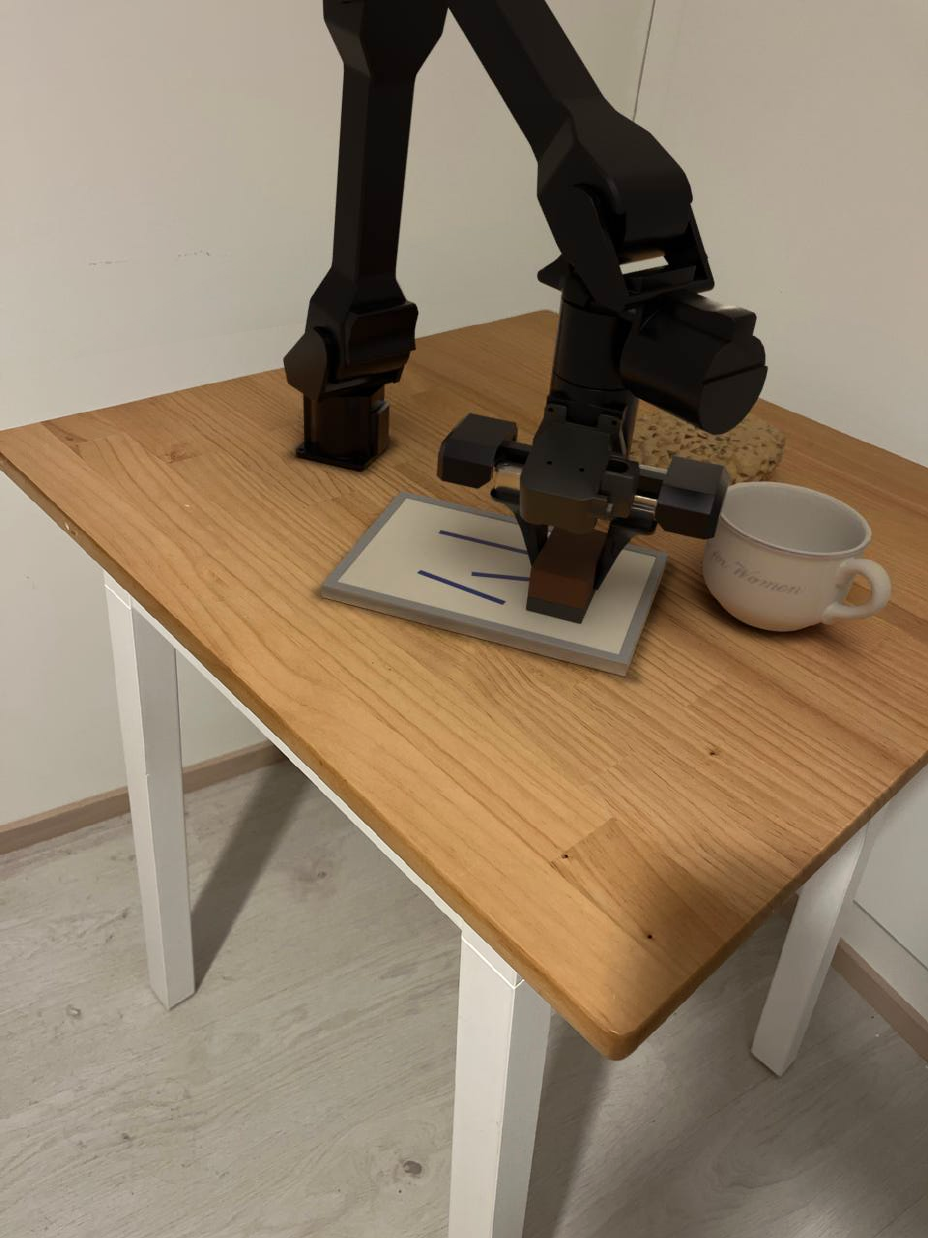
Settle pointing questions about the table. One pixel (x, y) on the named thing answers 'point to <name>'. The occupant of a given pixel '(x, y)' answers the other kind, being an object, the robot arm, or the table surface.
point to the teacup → (790, 558)
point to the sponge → (710, 445)
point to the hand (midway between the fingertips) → (566, 580)
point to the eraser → (565, 574)
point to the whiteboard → (489, 583)
